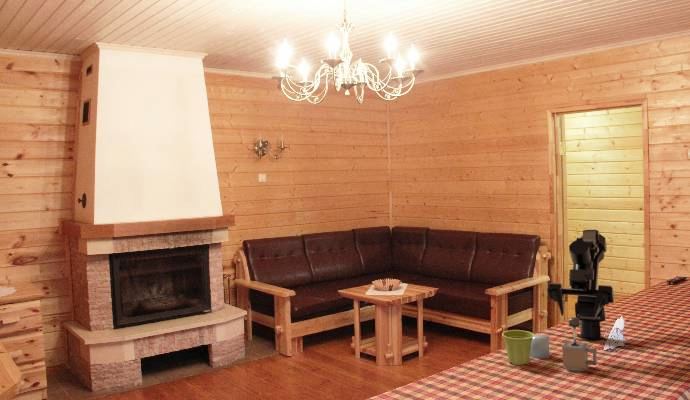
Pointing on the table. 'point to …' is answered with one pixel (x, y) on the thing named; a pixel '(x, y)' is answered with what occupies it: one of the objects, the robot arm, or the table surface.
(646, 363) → the table surface
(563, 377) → the table surface
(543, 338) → the grey rounded cylinder
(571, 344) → the press carafe
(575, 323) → the plunger
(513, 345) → the plant pot
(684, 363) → the table surface
